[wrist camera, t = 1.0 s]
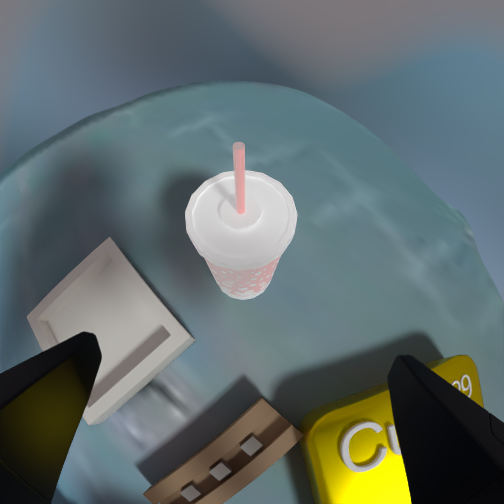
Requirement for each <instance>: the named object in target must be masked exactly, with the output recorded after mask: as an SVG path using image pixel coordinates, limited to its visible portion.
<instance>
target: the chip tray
mask: <svg viewBox="0 0 504 504" xmlns="http://www.w3.org/2000/svg"><path fill="white" fill-rule="evenodd" d="M27 319H28V322H29V324H30V326H31V328H32V330H33V333H34V335H35V337H36V339H37V341H38V343H39V345H40V347H41V349H42V351H45V350H47V349H49V348H51V347H53V346H55V345H57V344H59V343H61V342H63V341H65V340H67V339H69V338H71V337H73V336H75V335H77V334H79V333H81V332H83V331H86V332H90V333H94V334H95V335H96V337H97V340H98V343H99V346H100V350H101V353H102V361H101V364H100V367H99V370H98V373H97V376H96V379H95V382H94V385H93V389H92V392H91V395H90V398H89V401H88V403H87V406H86V408H85V411H84V413H83V415H82V416H83V418H84V419H85V420H86V422H87V423H88V425H93V424H98V423H102V422H103V421H105V420H106V419H107V418H108V417H109V416H110V415H112V414H113V413H114V412H115V411H116V410H118V409H119V408H120V407H121V406H122V405H123V404H125V403H126V402H127V401H128V400H129V399H130V398H132V397H133V396H134V395H135V394H136V393H137V392H138V391H140V390H141V389H142V388H143V387H144V386H145V385H146V384H148V383H149V382H150V381H151V380H152V379H153V378H154V377H156V376H157V375H158V374H159V373H160V372H161V371H162V370H164V369H165V368H166V367H167V366H168V365H169V364H170V363H171V362H173V361H174V360H175V359H176V358H177V357H178V356H179V355H180V354H182V353H183V352H184V351H185V350H186V349H187V348H188V347H189V346H190V345H192V344H193V343H194V342H195V341H196V340H195V339H194V338H193V337H192V336H191V335H190V333H189V332H188V331H187V330H186V329H185V328H184V327H183V326H182V325H181V323H180V322H179V321H178V320H177V319H176V318H175V317H174V315H173V314H172V313H171V312H170V311H169V310H168V308H167V307H166V306H165V305H164V304H163V303H162V301H161V300H160V299H159V298H158V297H157V295H156V294H155V293H154V292H153V291H152V289H151V288H150V287H149V286H148V284H147V283H146V282H145V281H144V279H143V278H142V277H141V276H140V274H139V273H138V272H137V271H136V269H135V268H134V267H133V265H132V264H131V263H130V262H129V260H128V259H127V258H126V256H125V255H124V254H123V252H122V251H121V250H120V248H119V247H118V246H117V245H116V244H115V242H114V241H113V240H112V239H111V238H110V237H109V238H107V239H106V240H105V241H104V242H103V243H102V244H101V245H99V246H98V247H97V248H96V249H95V250H94V251H93V252H92V253H90V254H89V255H88V256H87V257H86V258H85V259H84V260H83V261H82V262H81V263H80V264H78V265H77V266H76V267H75V268H74V269H73V270H72V271H71V272H70V273H69V274H68V275H67V276H66V277H65V278H64V279H63V280H62V281H61V282H60V283H59V284H58V285H57V286H56V287H55V288H54V289H53V290H52V291H51V292H50V293H49V294H48V295H47V296H46V297H45V298H44V299H43V300H42V301H41V302H40V303H39V304H38V305H37V306H36V307H35V308H34V309H33V310H32V311H31V312H30V313H29V315H28V316H27Z"/></svg>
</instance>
